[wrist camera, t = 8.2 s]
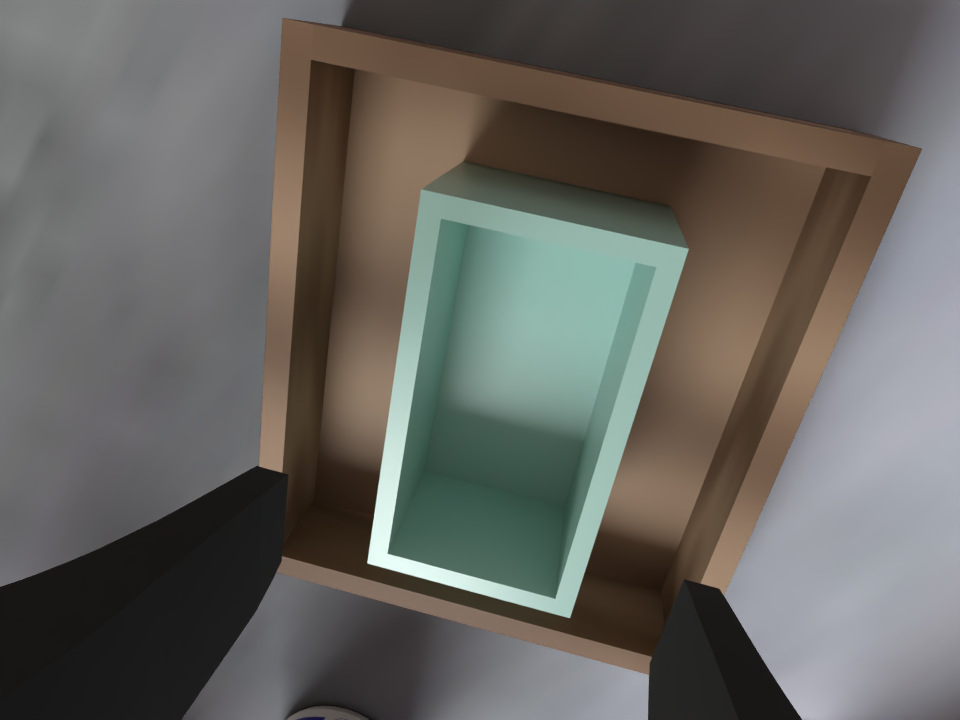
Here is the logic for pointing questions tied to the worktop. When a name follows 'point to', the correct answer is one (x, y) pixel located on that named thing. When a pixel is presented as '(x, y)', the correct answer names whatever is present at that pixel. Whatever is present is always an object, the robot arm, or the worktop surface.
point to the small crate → (518, 379)
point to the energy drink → (326, 714)
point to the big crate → (682, 346)
